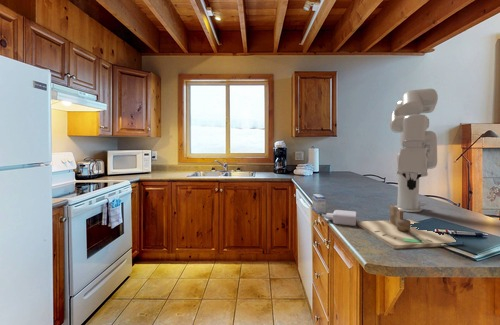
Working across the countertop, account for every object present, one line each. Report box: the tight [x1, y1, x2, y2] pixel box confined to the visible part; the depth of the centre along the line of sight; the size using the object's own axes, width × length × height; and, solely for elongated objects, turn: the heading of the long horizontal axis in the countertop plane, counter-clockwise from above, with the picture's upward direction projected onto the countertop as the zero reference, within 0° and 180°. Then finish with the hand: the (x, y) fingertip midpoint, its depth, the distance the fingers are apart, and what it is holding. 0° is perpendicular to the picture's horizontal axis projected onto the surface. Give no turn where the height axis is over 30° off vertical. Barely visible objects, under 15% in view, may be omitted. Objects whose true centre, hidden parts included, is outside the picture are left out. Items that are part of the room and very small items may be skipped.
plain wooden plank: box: [389, 204, 422, 242], centre depth 101 cm, size 24×4×7 cm, turn 174°
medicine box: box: [311, 193, 327, 215], centre depth 134 cm, size 8×4×9 cm, turn 5°
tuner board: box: [356, 219, 456, 250], centre depth 101 cm, size 26×26×1 cm
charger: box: [320, 209, 357, 227], centre depth 117 cm, size 5×9×15 cm
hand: (411, 189), depth 106 cm, fingers closed
